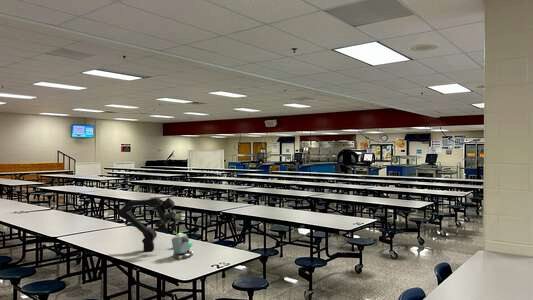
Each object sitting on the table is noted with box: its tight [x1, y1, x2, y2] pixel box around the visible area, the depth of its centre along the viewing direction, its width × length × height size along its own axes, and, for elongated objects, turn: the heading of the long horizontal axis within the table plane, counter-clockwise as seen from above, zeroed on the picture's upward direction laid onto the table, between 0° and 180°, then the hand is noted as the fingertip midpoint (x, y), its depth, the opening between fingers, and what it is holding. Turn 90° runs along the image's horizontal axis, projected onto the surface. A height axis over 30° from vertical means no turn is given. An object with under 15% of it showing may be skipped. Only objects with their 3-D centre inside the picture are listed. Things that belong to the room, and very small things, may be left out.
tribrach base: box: [172, 250, 194, 261], centre depth 246 cm, size 13×13×4 cm
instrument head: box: [171, 232, 191, 254], centre depth 246 cm, size 10×10×13 cm
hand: (172, 232), depth 255 cm, fingers open, 9 cm apart
